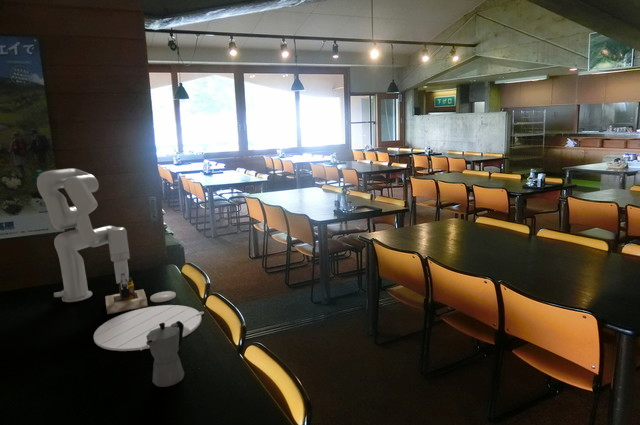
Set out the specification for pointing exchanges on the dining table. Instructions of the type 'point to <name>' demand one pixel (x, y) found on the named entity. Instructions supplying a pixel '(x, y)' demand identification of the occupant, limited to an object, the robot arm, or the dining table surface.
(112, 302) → the holder
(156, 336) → the coffeepot
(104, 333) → the lazy susan
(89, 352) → the dining table surface
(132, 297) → the condiment
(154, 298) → the coaster
